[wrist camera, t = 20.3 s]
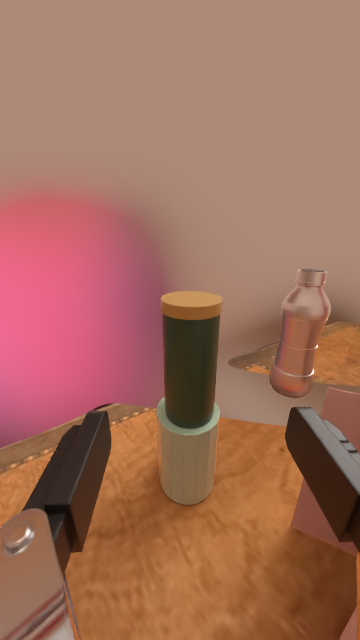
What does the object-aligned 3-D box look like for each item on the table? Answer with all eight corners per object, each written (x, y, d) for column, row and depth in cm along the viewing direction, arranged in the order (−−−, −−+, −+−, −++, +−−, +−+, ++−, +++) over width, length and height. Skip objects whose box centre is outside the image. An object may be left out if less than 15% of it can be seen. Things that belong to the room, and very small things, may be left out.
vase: (158, 506, 22) (154, 435, 19) (161, 451, 28) (158, 389, 24) (219, 504, 22) (226, 434, 19) (210, 449, 28) (214, 388, 25)
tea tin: (162, 430, 19) (158, 306, 16) (165, 393, 24) (162, 290, 20) (219, 429, 19) (228, 306, 16) (210, 392, 24) (216, 290, 20)
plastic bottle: (259, 385, 40) (276, 269, 33) (285, 375, 43) (306, 266, 36) (291, 408, 34) (319, 276, 27) (319, 395, 37) (351, 272, 30)
